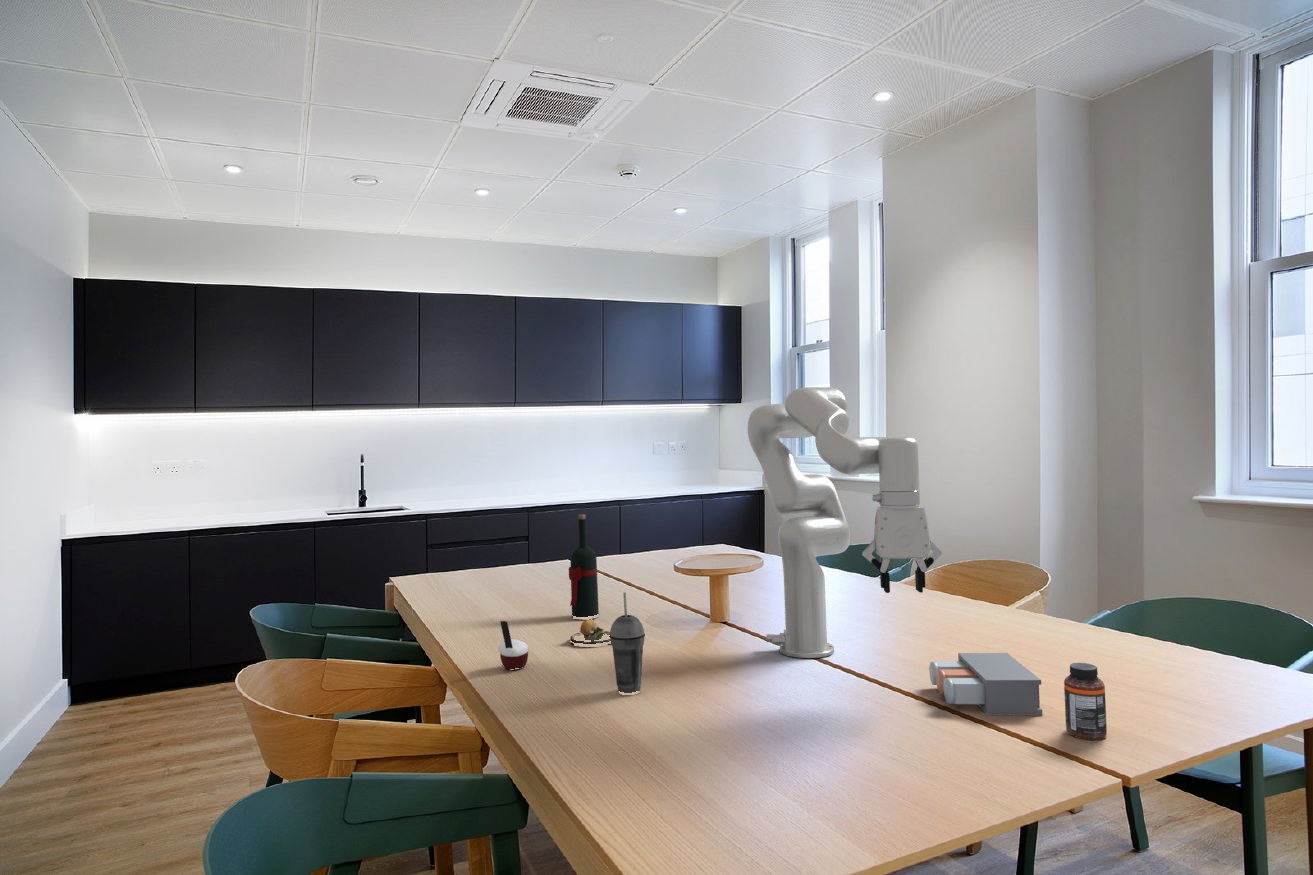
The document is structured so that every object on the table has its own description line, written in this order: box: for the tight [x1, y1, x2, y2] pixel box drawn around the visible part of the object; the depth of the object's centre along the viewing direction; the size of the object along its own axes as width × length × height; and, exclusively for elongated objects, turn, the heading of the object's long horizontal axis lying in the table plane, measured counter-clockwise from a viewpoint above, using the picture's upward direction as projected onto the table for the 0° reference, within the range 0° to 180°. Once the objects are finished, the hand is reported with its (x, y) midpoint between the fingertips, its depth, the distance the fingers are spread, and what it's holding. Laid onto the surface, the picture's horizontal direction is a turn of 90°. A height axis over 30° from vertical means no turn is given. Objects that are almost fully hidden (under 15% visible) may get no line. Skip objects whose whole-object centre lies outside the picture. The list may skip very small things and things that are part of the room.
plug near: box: [943, 678, 985, 705], centre depth 144 cm, size 9×4×4 cm, turn 84°
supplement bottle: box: [1063, 662, 1108, 741], centre depth 130 cm, size 6×6×11 cm
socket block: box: [957, 652, 1043, 716], centre depth 149 cm, size 9×18×6 cm, turn 174°
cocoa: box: [498, 620, 529, 670], centre depth 180 cm, size 10×6×12 cm, turn 144°
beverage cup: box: [609, 591, 646, 693], centre depth 161 cm, size 7×7×20 cm
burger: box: [569, 615, 611, 644], centre depth 203 cm, size 12×12×8 cm
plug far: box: [928, 660, 967, 686], centre depth 155 cm, size 9×4×4 cm, turn 84°
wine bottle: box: [568, 513, 600, 617], centre depth 231 cm, size 8×10×30 cm
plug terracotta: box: [936, 669, 975, 695], centre depth 150 cm, size 9×4×4 cm, turn 84°
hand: (902, 590), depth 156 cm, fingers open, 5 cm apart
